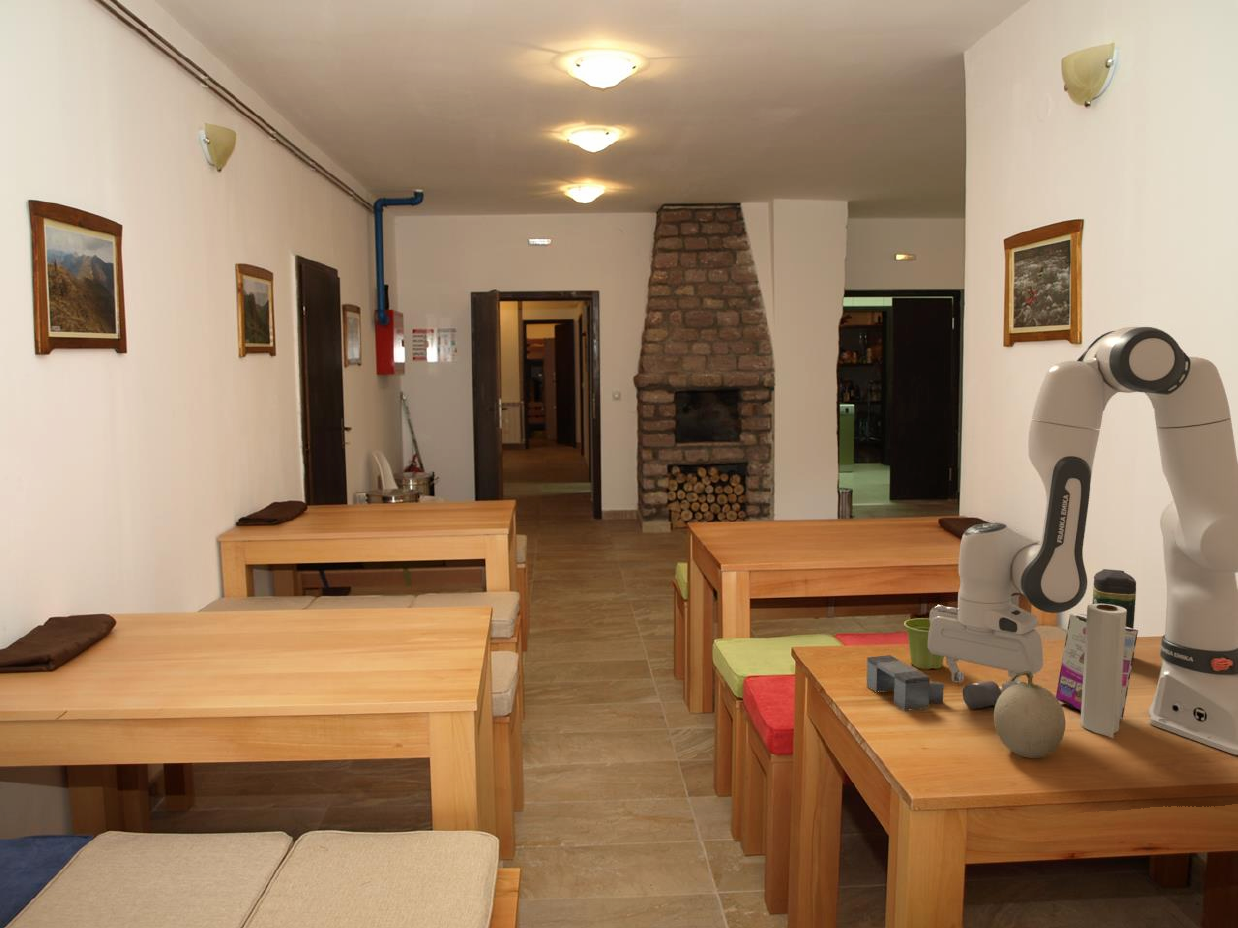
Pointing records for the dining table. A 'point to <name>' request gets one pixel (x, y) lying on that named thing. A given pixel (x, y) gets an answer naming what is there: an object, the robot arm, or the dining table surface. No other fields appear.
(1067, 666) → the candy bar box
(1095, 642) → the paper towel roll
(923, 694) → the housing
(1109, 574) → the coffee jar
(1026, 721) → the fruit
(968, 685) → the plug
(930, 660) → the plant pot
